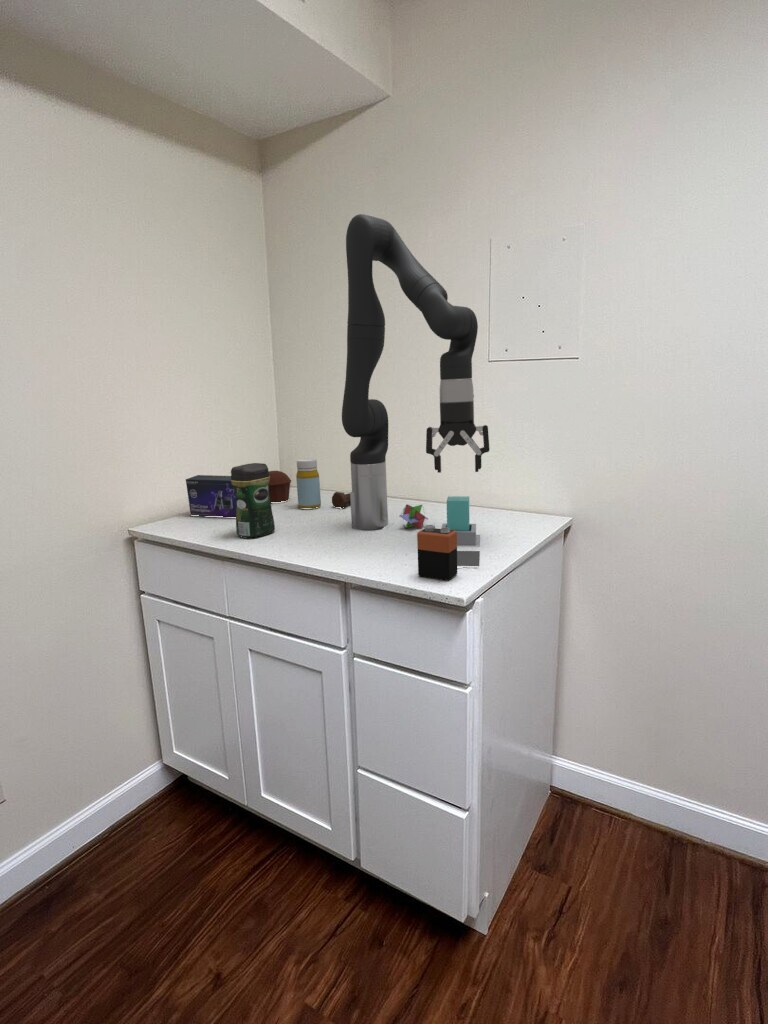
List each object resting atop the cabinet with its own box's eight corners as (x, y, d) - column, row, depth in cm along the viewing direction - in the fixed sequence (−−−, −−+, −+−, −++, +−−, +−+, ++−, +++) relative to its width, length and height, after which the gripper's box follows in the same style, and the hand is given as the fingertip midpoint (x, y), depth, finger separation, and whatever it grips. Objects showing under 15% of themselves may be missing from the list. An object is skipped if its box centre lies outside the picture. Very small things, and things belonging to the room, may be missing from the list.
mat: (430, 567, 119) (429, 564, 119) (434, 553, 129) (434, 550, 129) (479, 568, 117) (479, 565, 117) (479, 553, 127) (479, 551, 127)
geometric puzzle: (438, 521, 148) (423, 494, 150) (420, 526, 144) (405, 499, 145) (421, 534, 153) (407, 508, 155) (404, 539, 148) (389, 513, 150)
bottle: (319, 509, 178) (316, 461, 174) (297, 510, 178) (293, 461, 175) (322, 504, 185) (319, 457, 181) (300, 505, 185) (297, 458, 181)
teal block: (447, 542, 134) (446, 500, 132) (448, 537, 139) (448, 496, 137) (469, 543, 133) (468, 500, 131) (469, 537, 138) (469, 496, 136)
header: (435, 548, 132) (435, 533, 132) (439, 536, 142) (438, 522, 141) (479, 548, 131) (479, 533, 130) (480, 536, 140) (480, 522, 140)
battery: (427, 570, 117) (426, 522, 115) (458, 574, 114) (457, 525, 112) (417, 576, 114) (415, 527, 112) (449, 581, 110) (448, 531, 108)
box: (189, 517, 175) (184, 478, 172) (202, 512, 181) (198, 474, 178) (238, 519, 169) (234, 479, 167) (250, 514, 175) (246, 475, 173)
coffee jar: (260, 528, 157) (254, 460, 153) (280, 531, 153) (274, 462, 149) (231, 536, 150) (224, 465, 146) (251, 540, 145) (244, 467, 141)
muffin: (275, 506, 186) (272, 475, 183) (250, 503, 192) (247, 473, 189) (299, 499, 195) (297, 469, 193) (275, 496, 201) (273, 468, 199)
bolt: (371, 505, 189) (339, 513, 178) (361, 497, 192) (329, 503, 180) (378, 491, 186) (346, 498, 175) (367, 482, 189) (335, 488, 177)
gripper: (423, 402, 127) (425, 475, 130) (489, 399, 124) (489, 473, 128) (426, 400, 134) (428, 470, 138) (488, 398, 132) (489, 468, 135)
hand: (458, 471), depth 133 cm, fingers open, 8 cm apart
